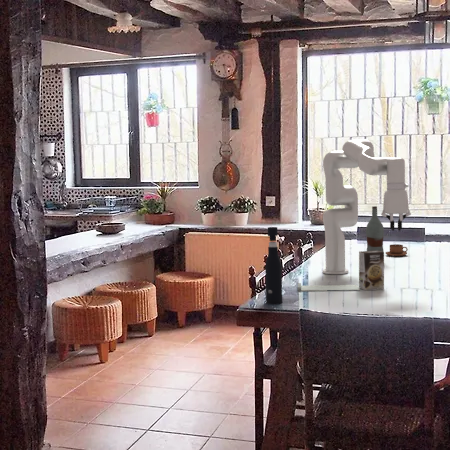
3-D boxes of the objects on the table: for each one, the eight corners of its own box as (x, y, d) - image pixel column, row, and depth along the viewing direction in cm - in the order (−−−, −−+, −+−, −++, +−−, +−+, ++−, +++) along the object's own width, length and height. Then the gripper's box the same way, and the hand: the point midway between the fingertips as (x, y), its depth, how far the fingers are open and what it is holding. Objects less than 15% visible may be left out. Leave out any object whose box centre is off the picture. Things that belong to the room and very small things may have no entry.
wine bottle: (281, 300, 280) (279, 226, 277) (283, 303, 274) (281, 228, 271) (265, 301, 280) (263, 226, 277) (266, 304, 274) (265, 228, 271)
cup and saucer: (403, 254, 400) (403, 243, 399) (409, 257, 388) (409, 246, 388) (383, 254, 400) (382, 244, 399) (388, 257, 388) (388, 246, 387)
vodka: (365, 263, 367) (365, 207, 364) (366, 261, 376) (365, 206, 373) (384, 264, 365) (383, 207, 362) (384, 261, 374) (383, 205, 371)
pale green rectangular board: (298, 287, 308) (297, 283, 308) (357, 286, 306) (357, 282, 305) (298, 291, 298) (298, 287, 298) (359, 290, 296) (359, 286, 295)
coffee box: (365, 290, 296) (365, 253, 294) (358, 288, 302) (358, 251, 300) (384, 288, 298) (384, 251, 297) (377, 286, 304) (377, 249, 303)
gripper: (413, 186, 298) (413, 229, 300) (375, 187, 299) (376, 229, 301) (416, 187, 291) (416, 230, 292) (378, 188, 292) (378, 231, 294)
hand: (396, 229), depth 297 cm, fingers closed
